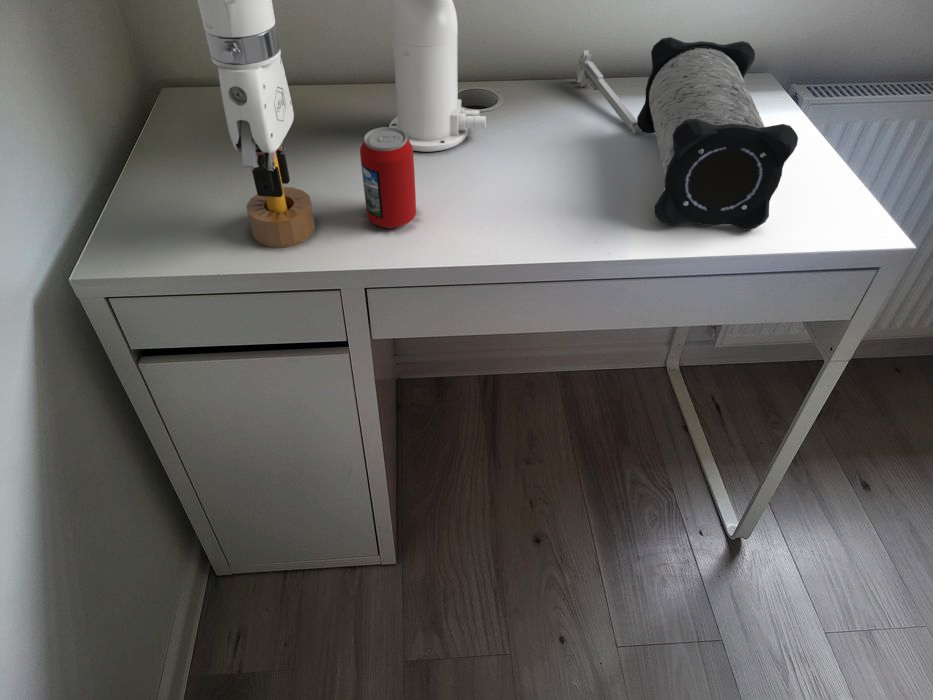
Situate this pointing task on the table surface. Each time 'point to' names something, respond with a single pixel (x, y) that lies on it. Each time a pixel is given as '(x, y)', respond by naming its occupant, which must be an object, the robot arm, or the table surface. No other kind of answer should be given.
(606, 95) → the caliper
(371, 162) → the beverage can
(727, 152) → the speaker
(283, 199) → the pencil
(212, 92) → the table surface
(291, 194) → the brown wooden ring
